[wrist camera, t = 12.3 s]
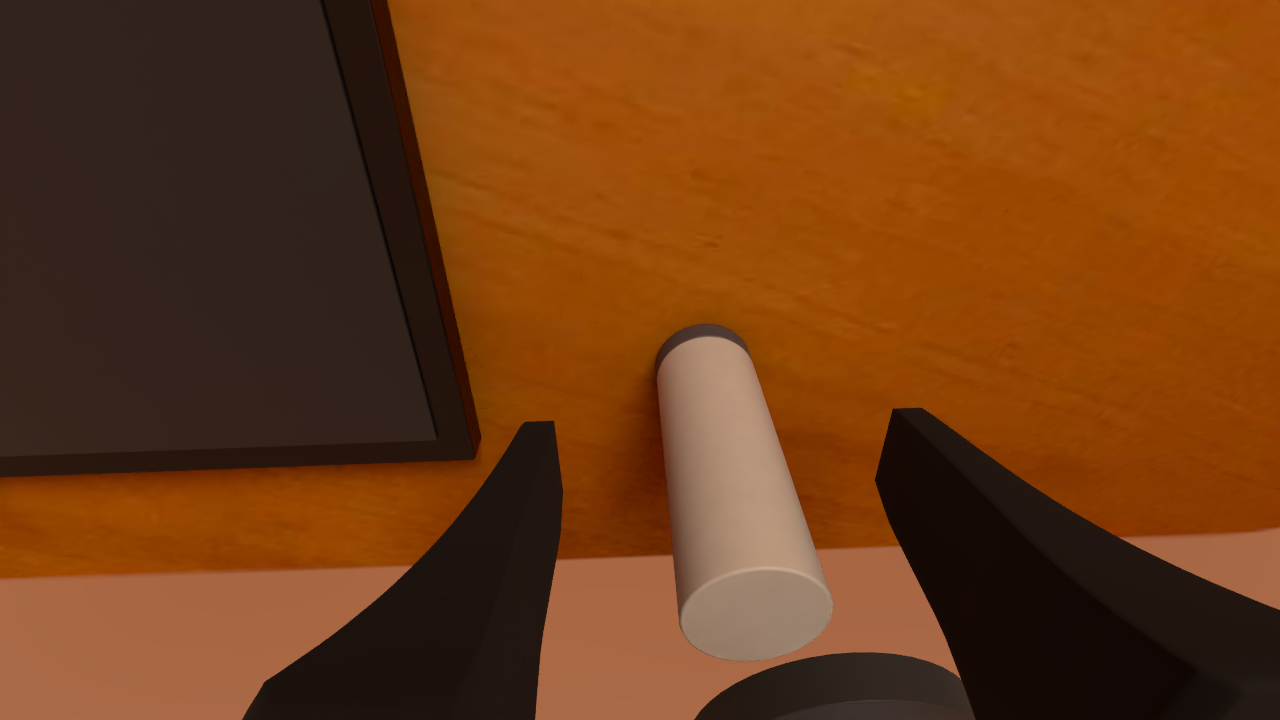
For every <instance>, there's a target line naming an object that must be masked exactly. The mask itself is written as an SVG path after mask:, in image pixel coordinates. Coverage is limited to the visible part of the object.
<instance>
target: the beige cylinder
mask: <svg viewBox="0 0 1280 720" xmlns="http://www.w3.org/2000/svg"><path fill="white" fill-rule="evenodd" d="M656 376H657V387H658V398H659V408H660V419H661V430H662V441H663V452H664V463H665V473H666V484H667V495H668V506H669V517H670V527H671V538H672V549H673V559H674V570H675V581H676V592H677V603H678V614H679V624H680V628H681V631H682V633H683V635H684V636H685V638H686V639H687V640H688V642H689V643H690V644H691V645H692V646H694V647H695V648H696V649H698V650H700V651H701V652H703V653H705V654H708V655H710V656H713V657H716V658H720V659H725V660H731V661H760V660H766V659H772V658H776V657H780V656H783V655H786V654H789V653H791V652H794V651H796V650H798V649H800V648H802V647H804V646H806V645H807V644H809V643H810V642H812V641H813V640H814V639H815V638H817V637H818V636H819V635H820V634H821V633H822V632H823V630H824V629H825V628H826V626H827V625H828V623H829V621H830V619H831V616H832V610H833V601H832V597H831V595H830V592H829V588H828V585H827V582H826V579H825V577H824V573H823V571H822V567H821V565H820V562H819V559H818V556H817V553H816V550H815V547H814V544H813V541H812V538H811V535H810V532H809V529H808V526H807V523H806V520H805V517H804V514H803V511H802V508H801V505H800V502H799V499H798V496H797V493H796V490H795V487H794V484H793V481H792V478H791V476H790V473H789V470H788V467H787V464H786V461H785V458H784V455H783V452H782V449H781V446H780V443H779V440H778V437H777V434H776V431H775V428H774V425H773V422H772V419H771V416H770V413H769V410H768V407H767V404H766V401H765V398H764V395H763V392H762V389H761V386H760V384H759V381H758V378H757V375H756V372H755V369H754V366H753V363H752V360H751V357H750V354H749V351H748V348H747V346H746V344H745V343H744V341H743V340H742V339H741V338H740V337H739V336H738V335H737V334H736V333H734V332H733V331H731V330H729V329H727V328H724V327H721V326H718V325H711V324H702V325H695V326H691V327H688V328H685V329H683V330H681V331H679V332H677V333H675V334H674V335H673V336H671V337H670V338H669V339H668V340H667V341H666V342H665V344H664V345H663V346H662V348H661V350H660V351H659V354H658V356H657V360H656Z"/></svg>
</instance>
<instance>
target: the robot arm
mask: <svg viewBox="0 0 1280 720" xmlns="http://www.w3.org/2000/svg"><path fill="white" fill-rule="evenodd" d="M875 482H876V485H877V488H878V491H879V494H880V497H881V500H882V504H883V506H884V509H885V512H886V515H887V518H888V520H889V523H890V525H891V527H892V529H893V531H894V534H895V536H896V538H897V540H898V542H899V544H900V546H901V548H902V550H903V552H904V554H905V556H906V558H907V560H908V562H909V564H910V566H911V568H912V570H913V572H914V574H915V576H916V578H917V580H918V582H919V584H920V586H921V588H922V590H923V592H924V594H925V595H926V598H927V600H928V602H929V603H930V605H931V608H932V610H933V612H934V614H935V616H936V618H937V620H938V622H939V625H940V627H941V629H942V631H943V633H944V636H945V638H946V640H947V643H948V646H949V648H950V651H951V654H952V656H953V659H954V662H955V664H956V667H957V669H958V672H959V675H960V677H961V680H962V683H963V685H964V688H965V691H966V694H967V697H968V700H969V703H970V705H971V708H972V711H973V714H974V717H975V720H1280V610H1278V609H1276V608H1273V607H1270V606H1268V605H1265V604H1263V603H1260V602H1258V601H1255V600H1253V599H1250V598H1248V597H1246V596H1243V595H1241V594H1238V593H1236V592H1234V591H1231V590H1229V589H1226V588H1224V587H1222V586H1219V585H1217V584H1214V583H1212V582H1210V581H1207V580H1205V579H1203V578H1201V577H1199V576H1196V575H1194V574H1192V573H1190V572H1188V571H1185V570H1183V569H1181V568H1179V567H1177V566H1175V565H1173V564H1170V563H1168V562H1166V561H1164V560H1162V559H1160V558H1158V557H1156V556H1154V555H1152V554H1150V553H1148V552H1146V551H1144V550H1142V549H1140V548H1137V547H1136V546H1134V545H1132V544H1130V543H1128V542H1126V541H1124V540H1122V539H1120V538H1118V537H1117V536H1115V535H1113V534H1111V533H1109V532H1108V531H1106V530H1104V529H1102V528H1100V527H1099V526H1097V525H1095V524H1093V523H1092V522H1090V521H1088V520H1086V519H1084V518H1083V517H1081V516H1079V515H1077V514H1076V513H1074V512H1072V511H1071V510H1069V509H1067V508H1066V507H1064V506H1062V505H1061V504H1059V503H1058V502H1056V501H1054V500H1053V499H1051V498H1050V497H1048V496H1047V495H1045V494H1044V493H1042V492H1040V491H1039V490H1037V489H1036V488H1034V487H1033V486H1031V485H1030V484H1028V483H1027V482H1025V481H1024V480H1022V479H1021V478H1019V477H1018V476H1016V475H1015V474H1013V473H1012V472H1011V471H1009V470H1008V469H1006V468H1005V467H1003V466H1002V465H1001V464H999V463H998V462H996V461H995V460H994V459H992V458H991V457H989V456H988V455H987V454H985V453H984V452H982V451H981V450H980V449H978V448H977V447H976V446H974V445H973V444H972V443H970V442H969V441H967V440H966V439H965V438H963V437H962V436H961V435H959V434H958V433H957V432H955V431H954V430H953V429H951V428H950V427H948V426H947V425H946V424H944V423H943V422H942V421H940V420H939V419H937V418H936V417H935V416H933V415H932V414H930V413H929V412H927V411H926V410H924V409H923V408H900V409H893V410H892V414H891V418H890V422H889V426H888V430H887V434H886V438H885V442H884V446H883V450H882V454H881V458H880V462H879V466H878V470H877V474H876V478H875ZM562 499H563V488H562V480H561V473H560V465H559V457H558V449H557V441H556V433H555V425H554V421H537V422H525V423H524V424H523V425H522V426H520V428H519V430H518V432H517V433H516V435H515V437H514V439H513V440H512V442H511V443H510V445H509V447H508V448H507V450H506V451H505V453H504V455H503V456H502V458H501V459H500V461H499V462H498V464H497V465H496V467H495V468H494V470H493V471H492V472H491V474H490V475H489V477H488V478H487V479H486V481H485V482H484V484H483V485H482V486H481V488H480V489H479V491H478V492H477V493H476V495H475V496H474V497H473V499H472V500H471V501H470V502H469V504H468V505H467V506H466V507H465V509H464V510H463V511H462V512H461V514H460V515H459V516H458V517H457V519H456V520H455V521H454V522H453V523H452V525H451V526H450V527H449V528H448V529H447V530H446V532H445V533H444V534H443V535H442V536H441V537H440V538H439V539H438V541H437V542H436V543H435V544H434V545H433V546H432V547H431V548H430V549H429V550H428V551H427V552H426V553H425V554H424V555H423V556H422V557H421V558H420V559H419V560H418V562H416V563H415V564H414V565H413V566H412V567H411V568H410V569H409V570H408V571H407V572H406V573H405V574H404V575H403V576H402V577H401V578H400V579H399V580H398V581H397V582H396V583H395V584H394V585H393V586H391V587H390V588H389V589H388V590H387V591H386V592H385V593H384V594H382V595H381V596H380V597H379V598H378V599H377V600H376V601H374V602H373V603H372V604H371V605H369V606H368V607H367V608H366V609H364V610H363V611H362V612H361V613H360V614H358V615H357V616H356V617H355V618H353V619H352V620H351V621H350V622H349V623H347V624H346V625H345V626H344V627H342V628H341V629H340V630H338V631H337V632H336V633H335V634H333V635H332V636H330V637H329V638H328V639H326V640H325V641H324V642H322V643H321V644H320V645H318V646H317V647H315V648H314V649H312V650H311V651H310V652H308V653H307V654H305V655H304V656H302V657H301V658H299V659H298V660H296V661H295V662H294V663H292V664H291V665H289V666H288V667H286V668H285V669H283V670H282V671H280V672H279V673H277V674H276V675H275V676H273V677H271V678H270V679H268V680H267V681H265V682H264V684H263V686H262V688H261V689H260V691H259V692H258V694H257V696H256V697H255V699H254V700H253V702H252V704H251V705H250V707H249V708H248V710H247V712H246V714H245V715H244V717H243V719H242V720H535V714H536V699H537V687H538V675H539V663H540V652H541V645H542V637H543V630H544V625H545V619H546V613H547V608H548V602H549V596H550V591H551V586H552V580H553V574H554V569H555V563H556V557H557V552H558V546H559V540H560V532H561V517H562Z"/></svg>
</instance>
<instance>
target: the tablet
mask: <svg viewBox="0 0 1280 720" xmlns="http://www.w3.org/2000/svg"><path fill="white" fill-rule="evenodd" d="M480 440H481V435H480V431H479V426H478V421H477V417H476V412H475V407H474V403H473V398H472V393H471V389H470V384H469V380H468V375H467V370H466V366H465V361H464V356H463V352H462V347H461V343H460V338H459V333H458V329H457V324H456V319H455V315H454V310H453V306H452V301H451V296H450V292H449V287H448V282H447V278H446V273H445V268H444V264H443V259H442V255H441V250H440V245H439V241H438V236H437V231H436V227H435V222H434V218H433V213H432V208H431V204H430V199H429V194H428V190H427V185H426V181H425V176H424V171H423V167H422V162H421V157H420V153H419V148H418V143H417V139H416V134H415V130H414V125H413V120H412V116H411V111H410V106H409V102H408V97H407V93H406V88H405V83H404V79H403V74H402V69H401V65H400V60H399V55H398V51H397V46H396V42H395V37H394V32H393V28H392V23H391V18H390V14H389V9H388V5H387V0H0V477H27V476H53V475H80V474H106V473H133V472H159V471H186V470H212V469H239V468H265V467H292V466H318V465H345V464H371V463H398V462H424V461H451V460H474V459H475V457H476V453H477V450H478V446H479V443H480Z"/></svg>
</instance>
